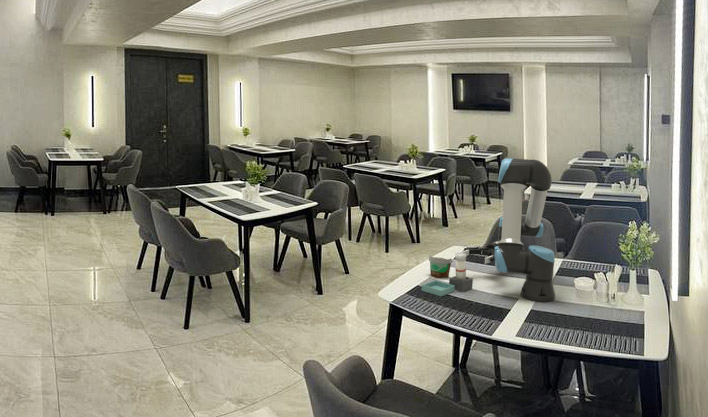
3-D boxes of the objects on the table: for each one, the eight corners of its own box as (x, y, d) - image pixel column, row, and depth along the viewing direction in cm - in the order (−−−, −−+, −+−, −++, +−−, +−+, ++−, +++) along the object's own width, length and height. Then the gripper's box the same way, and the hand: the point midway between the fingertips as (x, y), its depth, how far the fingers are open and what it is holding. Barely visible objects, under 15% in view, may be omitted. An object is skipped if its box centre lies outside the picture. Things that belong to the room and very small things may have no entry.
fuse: (468, 283, 280) (468, 253, 275) (462, 286, 276) (462, 257, 272) (459, 280, 283) (458, 251, 279) (453, 284, 279) (453, 254, 275)
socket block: (472, 288, 280) (472, 278, 279) (463, 292, 274) (463, 282, 274) (457, 284, 286) (458, 274, 285) (448, 288, 280) (449, 278, 279)
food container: (424, 276, 297) (425, 257, 295) (428, 273, 303) (429, 254, 301) (447, 280, 292) (448, 261, 290) (451, 277, 297) (452, 258, 295)
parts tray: (454, 291, 275) (454, 285, 275) (441, 296, 267) (441, 290, 267) (435, 285, 283) (435, 280, 282) (421, 290, 275) (421, 285, 274)
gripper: (516, 262, 293) (495, 271, 278) (473, 251, 309) (451, 259, 294) (518, 247, 291) (496, 256, 276) (474, 237, 308) (452, 245, 293)
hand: (473, 257), depth 285 cm, fingers open, 13 cm apart
